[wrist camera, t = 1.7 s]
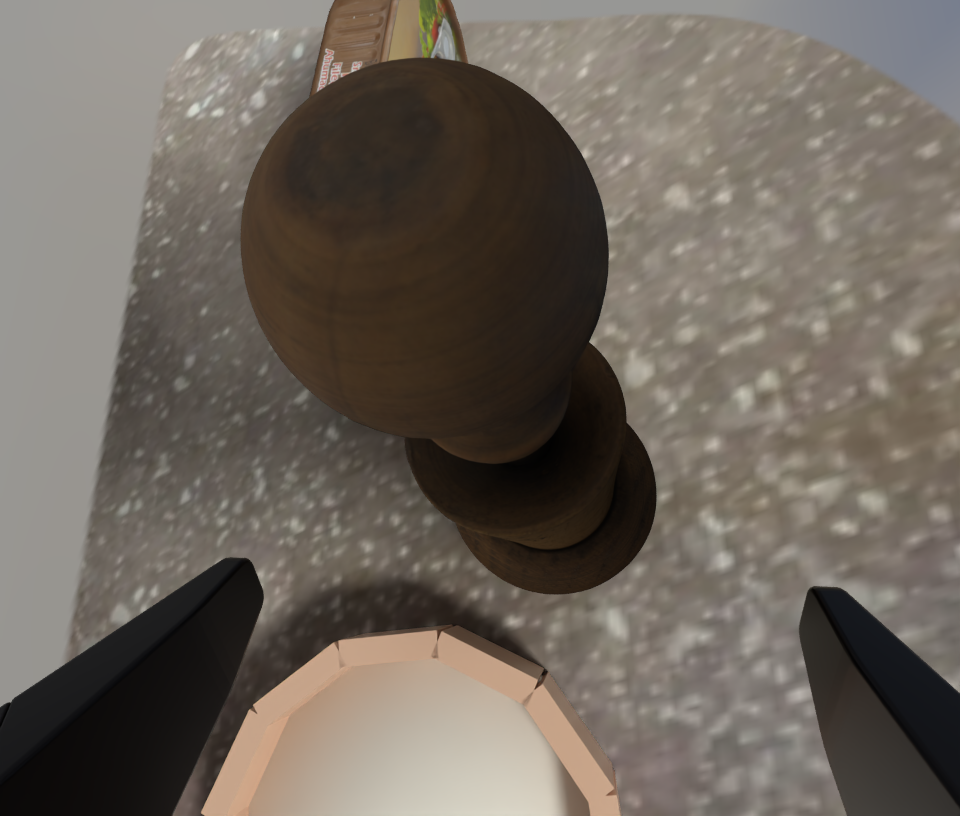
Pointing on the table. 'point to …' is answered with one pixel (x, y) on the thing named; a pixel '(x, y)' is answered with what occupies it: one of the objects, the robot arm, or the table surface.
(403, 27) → the tin
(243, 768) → the bowl
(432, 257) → the mortar and pestle
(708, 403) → the table surface
